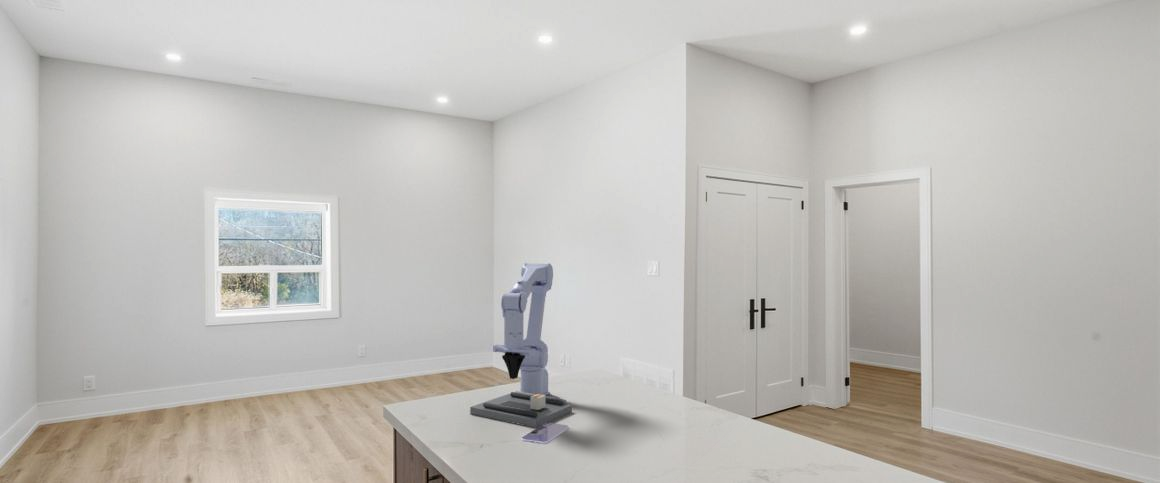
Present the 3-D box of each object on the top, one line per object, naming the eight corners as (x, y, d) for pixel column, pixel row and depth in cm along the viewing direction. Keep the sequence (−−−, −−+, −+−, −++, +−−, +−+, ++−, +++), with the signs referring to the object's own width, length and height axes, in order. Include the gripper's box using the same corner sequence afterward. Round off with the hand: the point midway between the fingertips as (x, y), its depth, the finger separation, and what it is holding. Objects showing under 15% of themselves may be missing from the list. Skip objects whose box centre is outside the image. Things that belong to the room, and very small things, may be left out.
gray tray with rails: (515, 394, 185) (515, 390, 185) (568, 404, 174) (568, 399, 174) (479, 407, 171) (479, 402, 171) (535, 418, 160) (535, 413, 160)
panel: (508, 400, 186) (509, 393, 186) (571, 411, 173) (571, 404, 173) (470, 413, 171) (470, 406, 171) (536, 427, 158) (536, 420, 158)
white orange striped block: (537, 405, 171) (537, 393, 171) (545, 407, 170) (545, 394, 170) (530, 408, 168) (530, 396, 168) (538, 410, 167) (538, 397, 167)
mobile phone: (519, 437, 148) (545, 421, 162) (519, 441, 148) (545, 424, 162) (546, 441, 145) (570, 424, 159) (546, 445, 145) (570, 428, 159)
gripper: (486, 332, 174) (486, 377, 174) (525, 336, 166) (524, 384, 166) (501, 329, 180) (501, 373, 180) (539, 333, 172) (539, 379, 172)
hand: (513, 378), depth 174 cm, fingers closed
